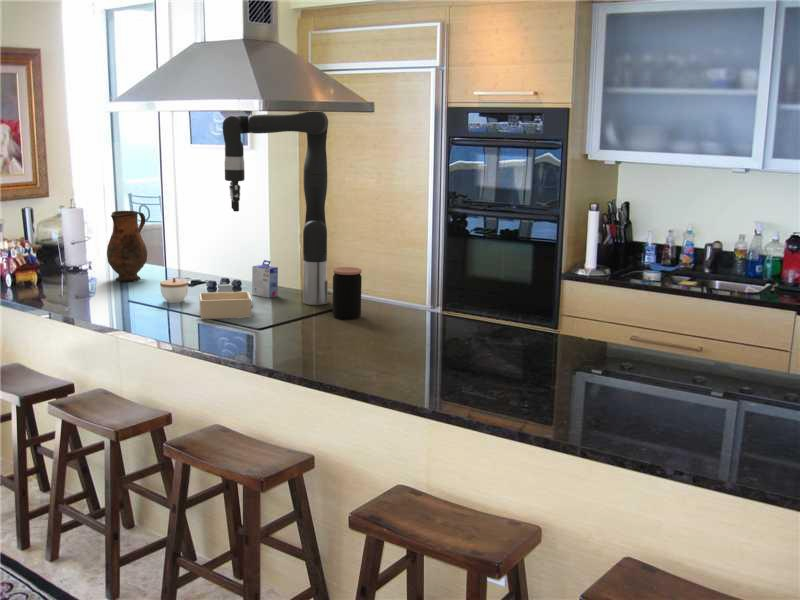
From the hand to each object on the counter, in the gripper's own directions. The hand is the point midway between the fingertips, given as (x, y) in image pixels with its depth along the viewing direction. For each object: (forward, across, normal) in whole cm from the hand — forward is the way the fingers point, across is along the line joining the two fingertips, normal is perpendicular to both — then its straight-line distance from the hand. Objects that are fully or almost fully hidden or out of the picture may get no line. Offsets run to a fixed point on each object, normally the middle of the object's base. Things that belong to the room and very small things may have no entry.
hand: (235, 210), depth 318 cm
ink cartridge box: (+36, +6, -12) cm, 39 cm away
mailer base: (+36, -24, +6) cm, 43 cm away
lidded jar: (+36, +1, +24) cm, 44 cm away
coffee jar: (+36, -34, -38) cm, 63 cm away
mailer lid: (+36, -6, +5) cm, 37 cm away
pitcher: (+36, +47, +42) cm, 73 cm away
